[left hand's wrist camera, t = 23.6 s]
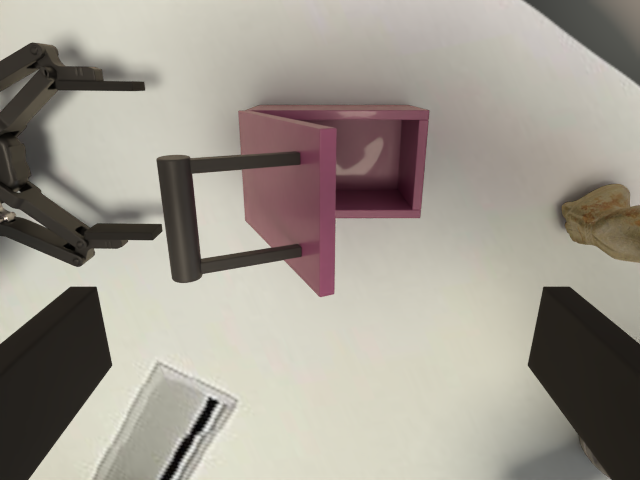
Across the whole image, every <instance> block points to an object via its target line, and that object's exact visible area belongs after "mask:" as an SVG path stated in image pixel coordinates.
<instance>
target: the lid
mask: <svg viewBox="0 0 640 480" xmlns="http://www.w3.org/2000/svg"><path fill="white" fill-rule="evenodd" d="M238 113H239V129H240V144H241V155H232V156H217V157H202V158H190V157H189V156H186V155H168V156H162V157H159V158H157V167H158V174H159V182H160V190H161V197H162V205H163V213H164V220H165V228H166V235H167V243H168V251H169V258H170V266H171V274H172V279H173V280H174V281H175V282H179V283H188V282H193V281H196V280H198V279H200V278H201V277H202V274H205V273H211V272H217V271H222V270H228V269H234V268H240V267H246V266H252V265H257V264H263V263H269V262H275V261H281V260H284V261H285V262H286V263H287V264H288V265H289V266H290V267H291V268H292V269H293V270H294V271H295V272H296V273H297V274H298V275H299V276H300V277H301V278H302V279H303V280H304V281H305V282H306V283H307V284H308V285H309V286H310V287H311V289H312V290H313V291H314V292H315V293H316V294H317V295H318V296H319V297H323V296H328V295H332V294H334V280H335V205H336V130H337V129H336V128H333V127H328V126H323V125H319V124H314V123H309V122H304V121H299V120H294V119H289V118H284V117H279V116H274V115H269V114H264V113H259V112H254V111H249V110H247V111H238ZM230 170H242V176H243V192H244V208H245V221H246V222H247V223H248V224H249V225H250V226H251V227H252V228H253V229H254V230H255V231H256V232H257V233H258V234H259V235H260V236H261V237H262V238H263V239H264V240H265V241H266V242H267V243H268V244H269V245H270V246H271V247H272V248H267V249H261V250H254V251H248V252H242V253H235V254H229V255H223V256H216V257H210V258H204V259H201V256H200V246H199V236H198V227H197V217H196V207H195V198H194V188H193V178H192V174H193V173H206V172H218V171H230Z"/></svg>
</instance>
